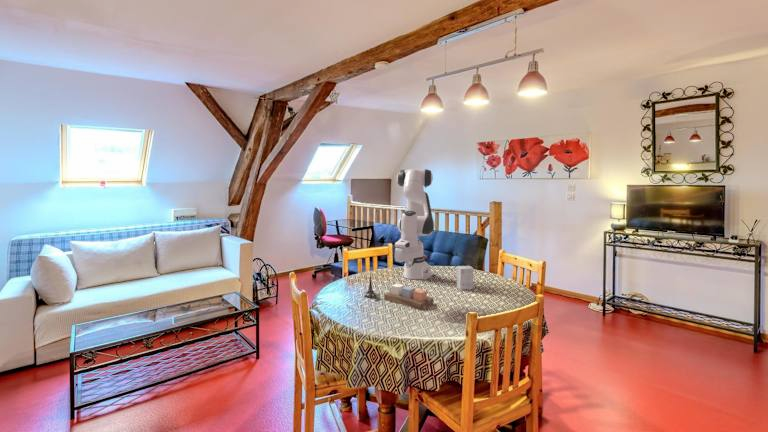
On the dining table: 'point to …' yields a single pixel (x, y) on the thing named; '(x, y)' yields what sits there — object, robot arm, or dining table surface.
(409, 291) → the slate key
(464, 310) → the dining table surface
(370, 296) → the eiffel tower figurine
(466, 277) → the small box
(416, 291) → the peach cube
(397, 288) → the cream cube
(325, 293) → the dining table surface
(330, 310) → the dining table surface
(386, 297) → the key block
